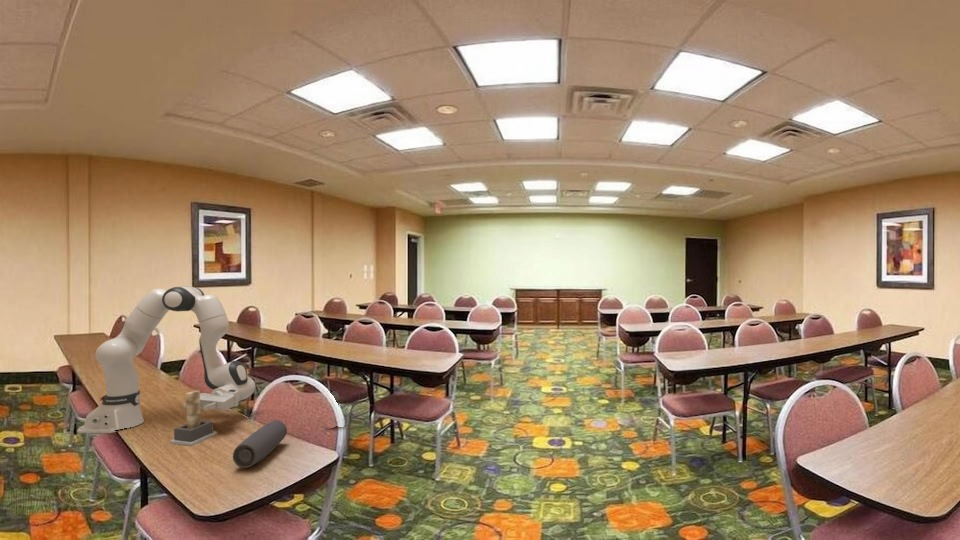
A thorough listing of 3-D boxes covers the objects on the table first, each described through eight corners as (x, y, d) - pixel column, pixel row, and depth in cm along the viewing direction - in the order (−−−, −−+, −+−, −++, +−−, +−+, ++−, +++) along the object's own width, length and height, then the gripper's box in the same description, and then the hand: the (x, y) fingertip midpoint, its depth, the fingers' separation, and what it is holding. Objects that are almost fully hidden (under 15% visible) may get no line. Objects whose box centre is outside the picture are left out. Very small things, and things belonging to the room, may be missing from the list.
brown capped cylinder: (334, 430, 187) (333, 383, 187) (318, 429, 189) (318, 382, 188) (343, 424, 195) (342, 379, 194) (328, 423, 196) (327, 378, 195)
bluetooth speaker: (265, 443, 175) (264, 418, 175) (288, 443, 175) (288, 418, 174) (231, 471, 152) (230, 442, 152) (257, 471, 152) (257, 443, 152)
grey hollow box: (196, 431, 187) (196, 418, 187) (216, 434, 184) (216, 421, 184) (170, 443, 175) (169, 429, 175) (191, 446, 173) (190, 432, 173)
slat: (195, 433, 182) (194, 390, 182) (200, 434, 181) (199, 390, 181) (187, 437, 178) (186, 393, 178) (192, 438, 178) (191, 393, 177)
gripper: (203, 388, 196) (173, 397, 182) (241, 391, 190) (213, 401, 177) (203, 402, 196) (174, 412, 183) (241, 406, 191) (214, 417, 177)
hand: (194, 407), depth 180 cm, fingers open, 8 cm apart
